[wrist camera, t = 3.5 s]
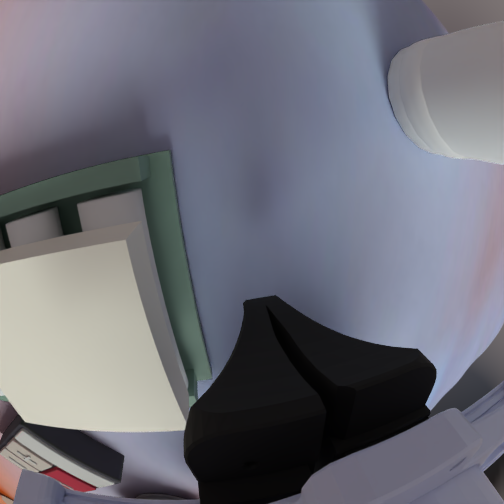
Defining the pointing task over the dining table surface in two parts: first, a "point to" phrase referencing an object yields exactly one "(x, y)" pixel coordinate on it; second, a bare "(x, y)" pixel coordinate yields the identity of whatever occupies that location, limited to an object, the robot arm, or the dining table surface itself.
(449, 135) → the bottle
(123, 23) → the dining table surface
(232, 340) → the dining table surface
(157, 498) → the coffee pot
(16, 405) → the board
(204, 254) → the dining table surface
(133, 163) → the roller frame
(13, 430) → the calculator
